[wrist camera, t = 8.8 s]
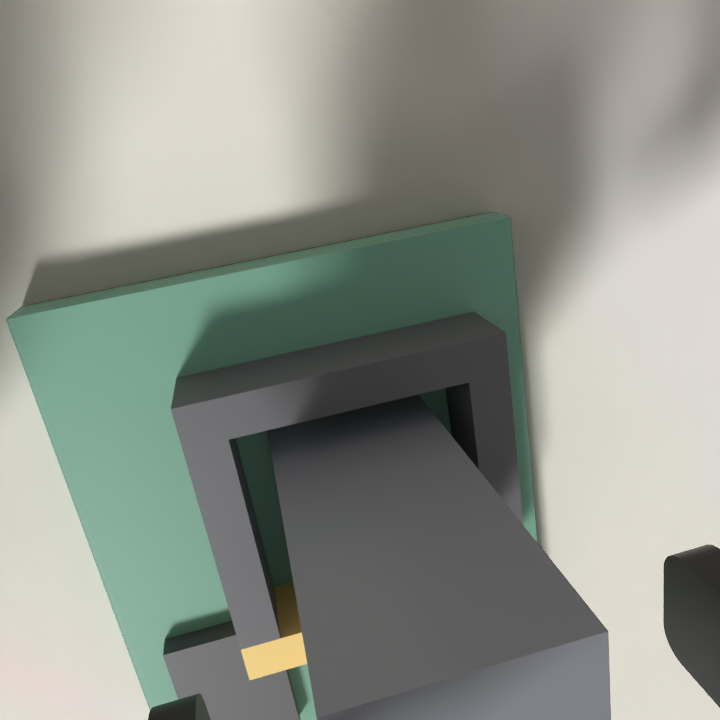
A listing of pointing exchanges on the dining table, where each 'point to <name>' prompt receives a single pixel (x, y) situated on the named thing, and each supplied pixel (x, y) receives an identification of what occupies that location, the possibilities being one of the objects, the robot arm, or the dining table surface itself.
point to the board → (261, 429)
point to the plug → (425, 580)
